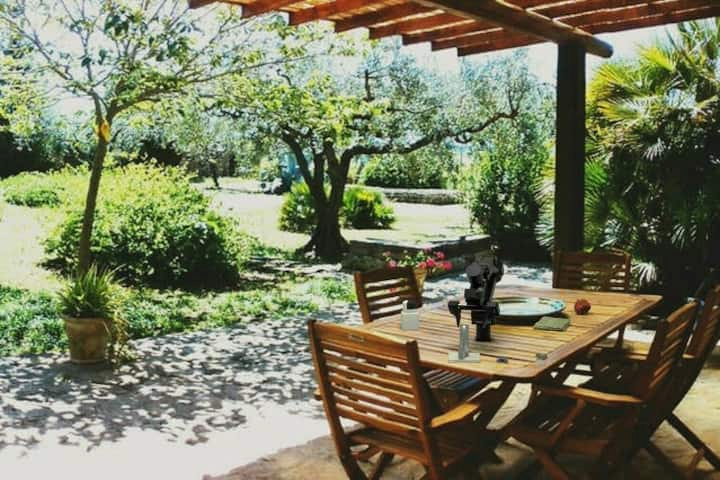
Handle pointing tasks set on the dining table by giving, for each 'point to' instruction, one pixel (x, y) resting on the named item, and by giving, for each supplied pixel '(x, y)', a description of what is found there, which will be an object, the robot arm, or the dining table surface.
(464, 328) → the steel hook
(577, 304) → the red spiky fruit
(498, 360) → the vise jaws
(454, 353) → the cream ceramic tile
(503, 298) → the dining table surface
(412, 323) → the medicine bottle
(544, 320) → the washcloth
